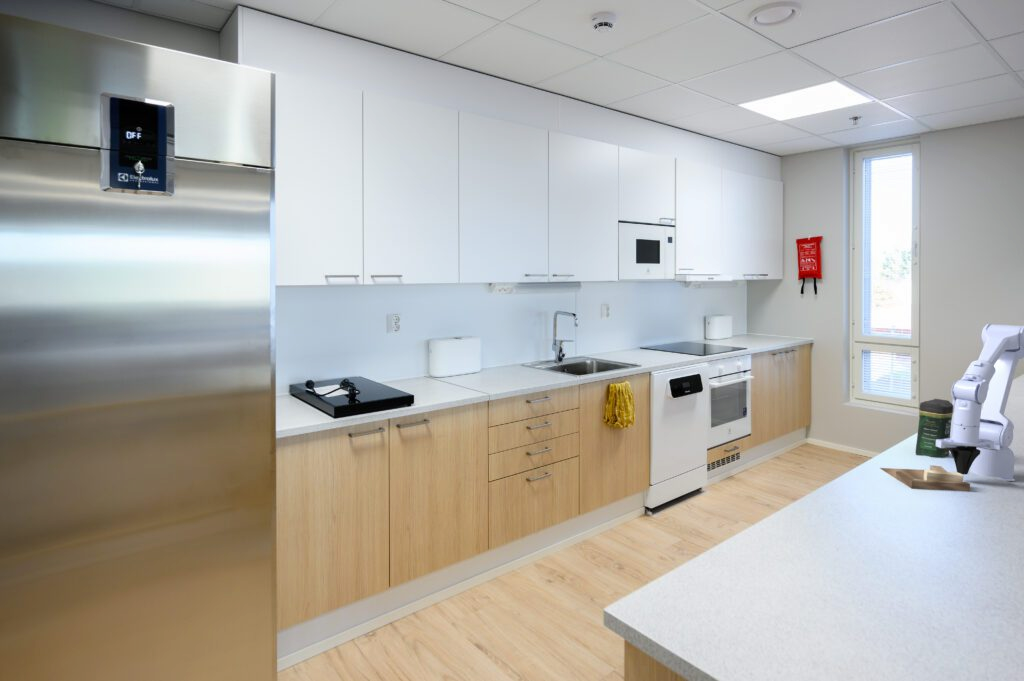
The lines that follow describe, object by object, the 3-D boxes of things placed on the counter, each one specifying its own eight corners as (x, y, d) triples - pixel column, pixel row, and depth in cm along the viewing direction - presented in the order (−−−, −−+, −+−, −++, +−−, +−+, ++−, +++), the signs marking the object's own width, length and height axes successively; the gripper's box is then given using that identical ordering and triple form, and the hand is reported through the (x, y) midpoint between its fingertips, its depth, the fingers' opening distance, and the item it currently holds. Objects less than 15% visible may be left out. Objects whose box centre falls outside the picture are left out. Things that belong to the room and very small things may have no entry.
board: (931, 474, 167) (932, 463, 166) (969, 495, 150) (970, 483, 150) (879, 471, 169) (879, 461, 168) (911, 492, 152) (911, 481, 151)
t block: (952, 479, 158) (953, 467, 158) (962, 488, 151) (963, 475, 151) (917, 476, 161) (918, 464, 161) (926, 485, 154) (927, 472, 154)
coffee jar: (940, 462, 177) (945, 403, 175) (911, 456, 184) (915, 399, 182) (953, 457, 182) (957, 400, 181) (924, 451, 189) (928, 395, 187)
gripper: (980, 421, 160) (976, 468, 161) (929, 420, 160) (925, 468, 161) (1002, 427, 153) (997, 477, 154) (948, 427, 153) (944, 476, 154)
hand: (962, 473), depth 157 cm, fingers closed
